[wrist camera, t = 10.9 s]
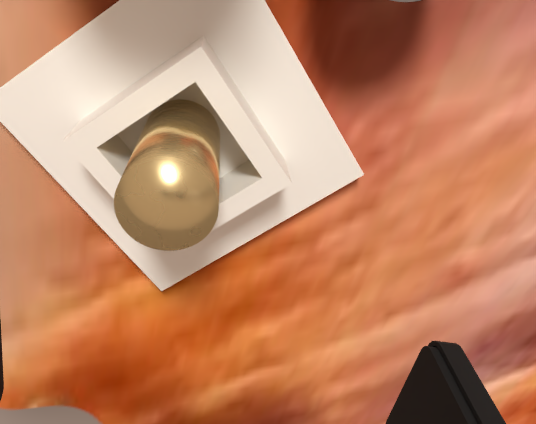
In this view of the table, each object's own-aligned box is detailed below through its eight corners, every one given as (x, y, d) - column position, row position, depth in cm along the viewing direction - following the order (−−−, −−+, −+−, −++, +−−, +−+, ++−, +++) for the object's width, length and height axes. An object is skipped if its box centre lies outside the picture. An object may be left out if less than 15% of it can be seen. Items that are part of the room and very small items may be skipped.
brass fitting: (234, 146, 29) (238, 219, 21) (175, 183, 30) (157, 266, 22) (190, 84, 27) (177, 139, 19) (129, 126, 28) (91, 195, 20)
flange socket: (359, 167, 32) (379, 199, 27) (163, 281, 35) (155, 325, 30) (222, -74, 24) (221, -79, 20) (-10, 95, 28) (-51, 120, 23)
